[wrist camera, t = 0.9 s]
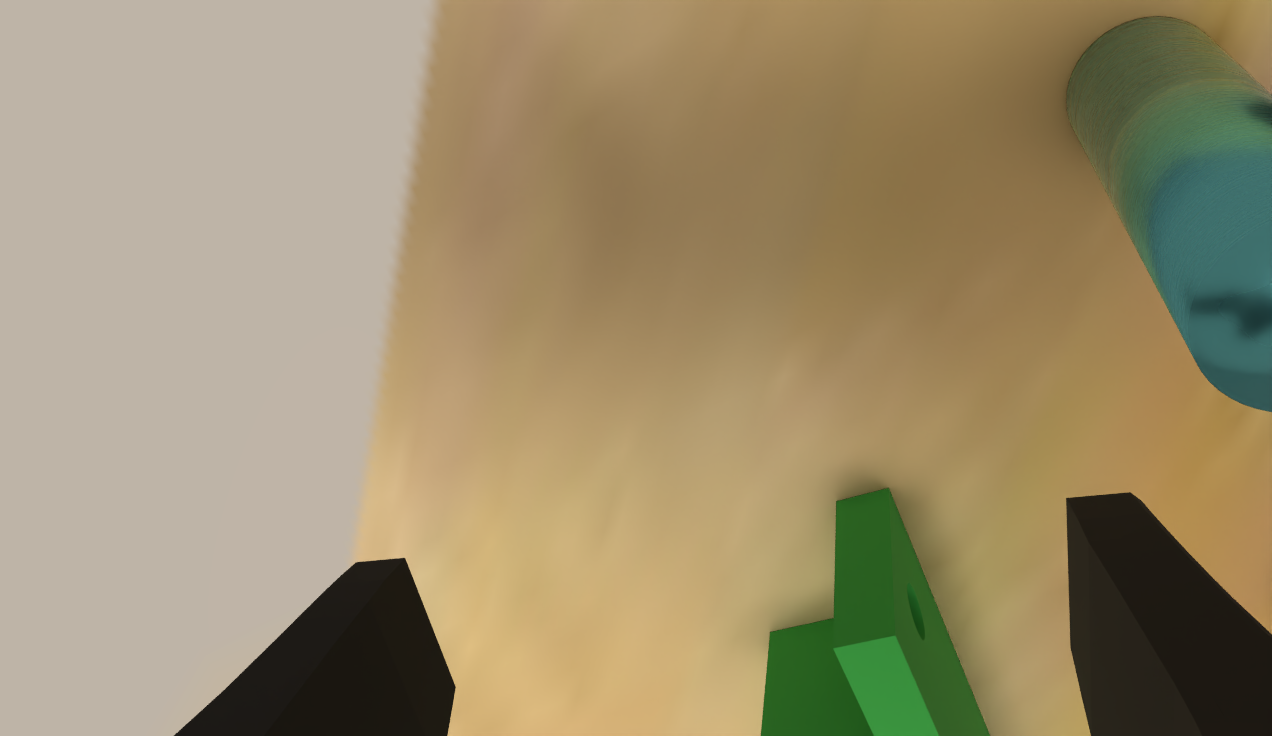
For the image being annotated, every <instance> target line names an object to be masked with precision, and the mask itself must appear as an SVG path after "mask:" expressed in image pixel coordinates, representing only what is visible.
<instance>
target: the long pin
mask: <svg viewBox="0 0 1272 736" xmlns="http://www.w3.org/2000/svg"><path fill="white" fill-rule="evenodd" d="M1066 103H1067V112H1068V117H1069V120H1070V123H1071V126H1072V128H1073V130H1074V132H1075V134H1076V136H1077V137H1078V139H1079V141H1080V143H1081V145H1082V147H1083V149H1084V151H1085V153H1086V154H1087V156H1088V158H1089V160H1090V162H1091V164H1092V166H1093V168H1094V170H1095V172H1096V173H1097V175H1098V177H1099V179H1100V181H1101V183H1102V185H1103V187H1104V189H1105V191H1106V192H1107V194H1108V196H1109V198H1110V200H1111V202H1112V204H1113V206H1114V208H1115V210H1116V211H1117V213H1118V215H1119V217H1120V219H1121V221H1122V223H1123V225H1124V227H1125V228H1126V230H1127V232H1128V234H1129V236H1130V238H1131V240H1132V242H1133V244H1134V246H1135V247H1136V249H1137V251H1138V253H1139V255H1140V257H1141V259H1142V261H1143V263H1144V265H1145V266H1146V268H1147V270H1148V272H1149V274H1150V276H1151V278H1152V280H1153V282H1154V283H1155V285H1156V287H1157V289H1158V291H1159V293H1160V295H1161V297H1162V299H1163V301H1164V302H1165V304H1166V306H1167V308H1168V310H1169V312H1170V314H1171V316H1172V318H1173V320H1174V321H1175V323H1176V325H1177V327H1178V329H1179V331H1180V333H1181V335H1182V337H1183V339H1184V340H1185V342H1186V344H1187V346H1188V348H1189V350H1190V352H1191V354H1192V356H1193V357H1194V359H1195V361H1196V363H1197V365H1198V367H1199V368H1200V370H1201V372H1202V373H1203V374H1204V376H1205V377H1206V378H1207V379H1208V381H1209V382H1210V383H1211V384H1213V385H1214V386H1215V387H1216V388H1217V389H1218V390H1219V391H1221V392H1222V393H1224V394H1225V395H1227V396H1228V397H1230V398H1231V399H1233V400H1235V401H1237V402H1239V403H1242V404H1244V405H1247V406H1250V407H1253V408H1256V409H1260V410H1265V411H1269V412H1272V95H1271V94H1270V93H1269V92H1268V91H1267V90H1266V89H1265V88H1264V87H1263V86H1262V85H1261V84H1259V83H1258V82H1257V81H1256V80H1255V79H1254V78H1253V77H1252V76H1251V75H1250V74H1249V73H1247V72H1246V71H1245V70H1244V69H1243V68H1242V67H1241V66H1240V65H1239V64H1238V63H1237V62H1236V61H1234V60H1233V59H1232V58H1231V57H1230V56H1229V55H1228V54H1227V53H1226V52H1225V51H1224V50H1222V49H1221V48H1220V47H1219V46H1218V45H1217V44H1216V43H1215V42H1214V41H1213V40H1212V39H1211V38H1209V37H1208V36H1207V35H1206V34H1205V33H1204V32H1203V31H1201V30H1200V29H1199V28H1197V27H1196V26H1194V25H1192V24H1190V23H1188V22H1185V21H1182V20H1179V19H1175V18H1170V17H1146V18H1141V19H1136V20H1133V21H1130V22H1126V23H1124V24H1122V25H1120V26H1117V27H1115V28H1114V29H1112V30H1110V31H1108V32H1107V33H1105V34H1104V35H1103V36H1101V37H1100V38H1099V39H1097V40H1096V41H1095V42H1094V43H1093V44H1092V45H1091V46H1090V47H1089V48H1088V49H1087V50H1086V52H1085V53H1084V54H1083V55H1082V57H1081V58H1080V60H1079V61H1078V63H1077V65H1076V67H1075V69H1074V71H1073V73H1072V75H1071V78H1070V81H1069V85H1068V89H1067V99H1066Z"/></svg>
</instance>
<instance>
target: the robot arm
mask: <svg viewBox="0 0 1272 736" xmlns="http://www.w3.org/2000/svg"><path fill="white" fill-rule="evenodd" d="M1066 505H1067V540H1068V574H1069V609H1070V643H1071V651H1072V656H1073V660H1074V664H1075V669H1076V673H1077V678H1078V682H1079V686H1080V691H1081V695H1082V700H1083V704H1084V708H1085V712H1086V716H1087V720H1088V725H1089V729H1090V733H1091V736H1272V634H1271V633H1270V632H1269V631H1267V630H1266V629H1265V628H1264V627H1263V626H1262V625H1261V624H1260V623H1259V622H1258V621H1257V620H1256V619H1255V618H1254V617H1253V616H1252V615H1250V614H1249V613H1248V612H1247V611H1246V610H1245V609H1244V608H1243V607H1242V606H1241V605H1240V604H1239V603H1238V602H1237V601H1236V600H1234V599H1233V598H1232V597H1231V596H1230V595H1229V594H1228V593H1227V592H1226V591H1225V590H1224V589H1223V588H1222V587H1221V586H1220V585H1219V584H1218V583H1217V582H1216V581H1215V580H1214V579H1213V578H1212V577H1211V576H1210V575H1209V574H1208V573H1207V572H1206V570H1205V569H1204V568H1203V567H1202V566H1201V565H1200V564H1199V563H1198V562H1197V561H1196V560H1195V559H1194V558H1193V557H1192V556H1191V555H1190V554H1189V553H1188V552H1187V551H1186V550H1185V549H1184V548H1183V547H1182V545H1181V544H1180V543H1179V542H1178V541H1177V540H1176V539H1175V538H1174V537H1173V536H1172V535H1171V534H1170V532H1169V531H1168V530H1167V529H1166V528H1165V527H1164V526H1163V525H1162V524H1161V523H1160V521H1159V520H1158V519H1157V518H1156V517H1155V516H1154V515H1153V514H1152V512H1151V511H1150V510H1149V509H1148V508H1147V507H1146V506H1145V504H1144V503H1143V502H1142V501H1141V500H1140V499H1138V498H1137V497H1136V496H1134V495H1133V494H1132V493H1130V492H1129V493H1118V494H1107V495H1096V496H1085V497H1074V498H1066ZM455 688H456V687H455V684H454V682H453V679H452V677H451V674H450V672H449V669H448V667H447V664H446V661H445V659H444V656H443V654H442V651H441V649H440V646H439V644H438V641H437V638H436V636H435V633H434V631H433V628H432V626H431V623H430V621H429V618H428V615H427V613H426V610H425V608H424V605H423V603H422V600H421V598H420V595H419V593H418V590H417V587H416V585H415V582H414V580H413V577H412V575H411V572H410V570H409V567H408V564H407V562H406V559H405V558H399V559H388V560H377V561H366V562H356V563H355V564H354V565H353V566H351V567H350V568H349V569H348V570H347V571H346V572H345V573H344V574H342V575H341V576H340V577H339V578H338V579H337V580H336V581H335V582H334V583H333V584H332V585H331V586H330V587H329V588H328V589H326V590H325V591H324V592H323V593H322V594H321V595H320V596H319V597H318V598H317V599H316V600H315V601H314V602H313V603H312V604H311V605H310V606H309V607H308V608H307V609H306V610H305V611H304V612H303V613H302V614H301V615H300V616H299V617H298V618H297V619H296V620H295V621H294V622H293V623H292V624H291V625H290V626H289V627H288V628H287V629H286V630H285V631H284V632H283V633H282V634H281V635H280V636H279V637H278V638H277V639H276V640H275V641H274V642H273V643H272V644H271V645H270V646H269V647H268V648H267V649H266V650H265V651H264V652H263V653H262V654H261V655H260V656H259V657H258V658H257V659H255V660H254V661H253V662H252V663H251V664H250V665H249V666H248V667H247V668H246V669H245V670H244V671H243V672H242V673H241V674H240V675H239V676H238V677H237V678H236V679H235V680H234V681H233V682H232V683H231V684H230V685H229V686H228V687H227V688H226V689H225V690H224V691H223V692H222V693H221V694H219V695H218V696H217V697H216V698H215V699H214V700H213V701H212V702H211V703H209V705H207V706H206V707H205V708H204V709H203V710H202V711H201V712H200V713H198V714H197V715H196V716H195V717H194V718H193V719H192V720H191V721H190V722H189V723H187V724H186V725H185V726H184V727H183V728H182V729H181V730H180V731H179V732H178V733H176V734H175V735H174V736H447V734H448V729H449V723H450V717H451V711H452V705H453V699H454V693H455Z"/></svg>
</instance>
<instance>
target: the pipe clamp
mask: <svg viewBox="0 0 1272 736" xmlns="http://www.w3.org/2000/svg"><path fill="white" fill-rule="evenodd" d="M761 736H990V734H989V732H988V729H987V727H986V725H985V722H984V720H983V717H982V715H981V712H980V710H979V707H978V705H977V703H976V700H975V698H974V695H973V693H972V690H971V688H970V685H969V683H968V681H967V678H966V676H965V673H964V671H963V668H962V666H961V663H960V661H959V659H958V656H957V654H956V651H955V649H954V646H953V644H952V641H951V639H950V637H949V634H948V632H947V629H946V627H945V624H944V622H943V619H942V617H941V615H940V612H939V610H938V607H937V605H936V602H935V600H934V597H933V595H932V593H931V590H930V588H929V585H928V583H927V580H926V578H925V575H924V573H923V571H922V568H921V566H920V563H919V561H918V558H917V556H916V553H915V551H914V549H913V546H912V544H911V541H910V539H909V536H908V534H907V531H906V529H905V527H904V524H903V522H902V519H901V517H900V514H899V512H898V509H897V507H896V505H895V502H894V500H893V497H892V495H891V492H890V490H889V488H887V489H883V490H879V491H875V492H871V493H867V494H863V495H859V496H855V497H851V498H848V499H844V500H840V501H836V540H835V586H834V618H832V619H828V620H823V621H819V622H814V623H809V624H805V625H800V626H796V627H791V628H787V629H782V630H778V631H773V632H770V640H769V651H768V662H767V673H766V685H765V696H764V707H763V718H762V729H761Z"/></svg>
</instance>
